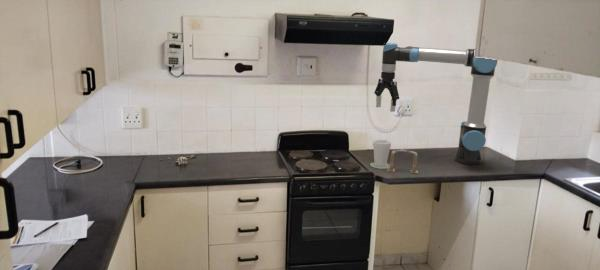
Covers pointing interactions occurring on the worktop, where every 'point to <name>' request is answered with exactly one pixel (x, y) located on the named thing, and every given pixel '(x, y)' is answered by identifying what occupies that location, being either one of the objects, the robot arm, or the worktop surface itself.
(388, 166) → the coaster
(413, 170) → the pull handle
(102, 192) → the worktop surface
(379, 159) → the foam cup
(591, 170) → the worktop surface
